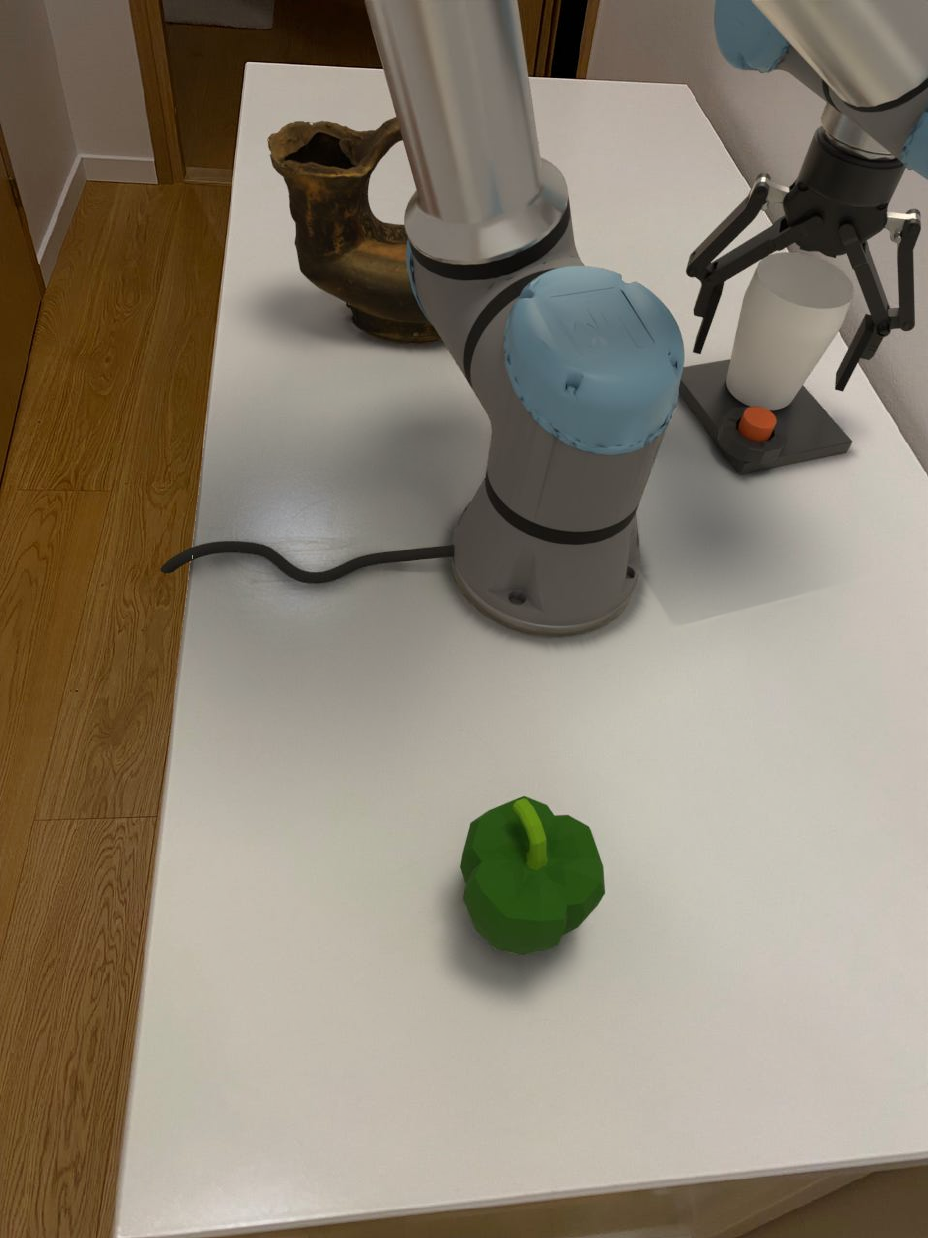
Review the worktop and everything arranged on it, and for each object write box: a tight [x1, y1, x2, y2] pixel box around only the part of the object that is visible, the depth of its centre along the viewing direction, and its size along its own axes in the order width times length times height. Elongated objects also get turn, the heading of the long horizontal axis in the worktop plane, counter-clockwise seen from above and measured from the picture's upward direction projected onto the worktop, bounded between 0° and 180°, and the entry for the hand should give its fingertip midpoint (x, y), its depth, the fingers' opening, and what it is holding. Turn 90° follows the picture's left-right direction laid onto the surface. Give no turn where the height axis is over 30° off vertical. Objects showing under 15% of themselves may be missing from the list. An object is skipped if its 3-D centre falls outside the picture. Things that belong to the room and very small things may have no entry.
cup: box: [726, 251, 856, 410], centre depth 88 cm, size 9×9×12 cm
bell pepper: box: [459, 795, 606, 956], centre depth 56 cm, size 8×8×10 cm
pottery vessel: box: [266, 116, 442, 345], centre depth 89 cm, size 25×11×20 cm, turn 94°
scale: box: [679, 358, 853, 475], centre depth 91 cm, size 13×14×3 cm
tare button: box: [738, 407, 777, 442], centre depth 86 cm, size 3×3×2 cm
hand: (768, 363), depth 90 cm, fingers open, 13 cm apart
